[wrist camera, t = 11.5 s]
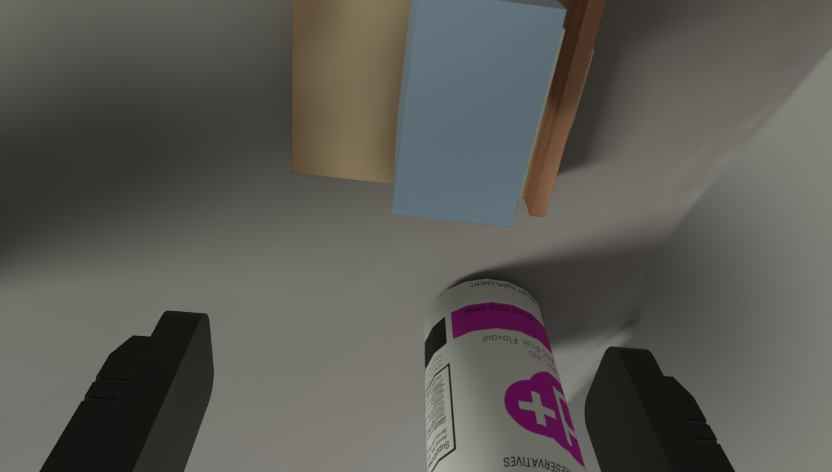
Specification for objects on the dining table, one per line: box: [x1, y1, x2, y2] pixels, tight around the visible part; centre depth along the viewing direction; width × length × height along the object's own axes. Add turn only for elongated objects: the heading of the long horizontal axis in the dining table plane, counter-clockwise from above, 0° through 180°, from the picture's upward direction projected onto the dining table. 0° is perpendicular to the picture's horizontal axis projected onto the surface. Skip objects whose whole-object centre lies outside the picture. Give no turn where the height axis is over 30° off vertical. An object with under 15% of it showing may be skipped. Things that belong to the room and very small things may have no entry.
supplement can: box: [424, 279, 586, 472], centre depth 34 cm, size 8×8×15 cm
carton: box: [392, 0, 567, 227], centre depth 24 cm, size 8×5×10 cm, turn 173°
